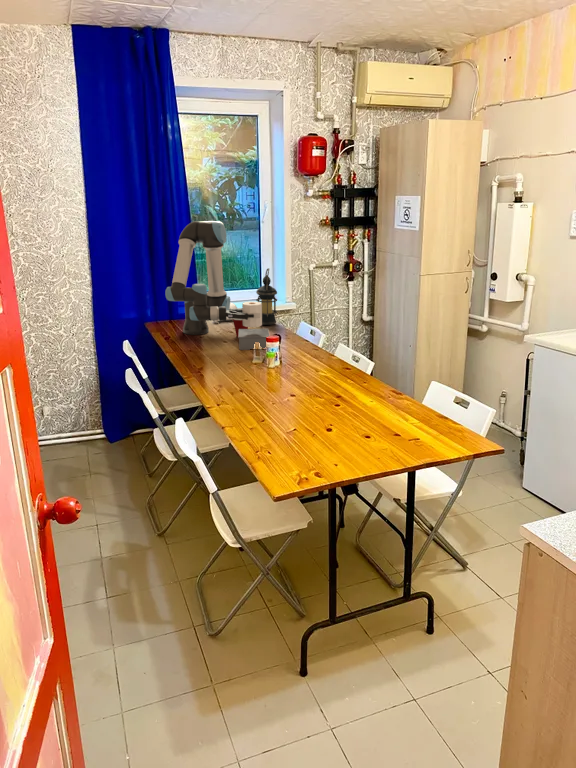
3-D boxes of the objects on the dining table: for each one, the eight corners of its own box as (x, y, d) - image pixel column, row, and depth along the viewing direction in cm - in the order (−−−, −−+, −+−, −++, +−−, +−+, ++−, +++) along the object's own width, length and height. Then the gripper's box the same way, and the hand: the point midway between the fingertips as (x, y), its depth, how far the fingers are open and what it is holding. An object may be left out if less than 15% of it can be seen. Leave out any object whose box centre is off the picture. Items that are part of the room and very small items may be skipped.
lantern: (255, 322, 382) (255, 266, 371) (276, 321, 383) (276, 266, 372) (257, 327, 369) (256, 270, 357) (278, 326, 370) (278, 269, 359)
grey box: (238, 341, 337) (238, 329, 334) (268, 340, 338) (268, 328, 335) (238, 349, 319) (238, 337, 317) (269, 349, 320) (269, 336, 318)
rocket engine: (211, 309, 373) (230, 299, 384) (203, 318, 381) (223, 308, 393) (222, 324, 372) (241, 313, 384) (214, 332, 381) (233, 322, 393)
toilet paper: (254, 328, 317) (254, 305, 313) (239, 325, 323) (238, 303, 319) (265, 324, 325) (265, 302, 321) (250, 322, 331) (249, 300, 327)
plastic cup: (228, 337, 344) (228, 317, 340) (237, 333, 353) (236, 313, 350) (245, 339, 340) (245, 318, 336) (253, 335, 350) (253, 315, 346)
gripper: (220, 315, 333) (259, 315, 334) (217, 325, 311) (260, 324, 313) (219, 302, 330) (259, 302, 332) (217, 311, 309) (260, 310, 310)
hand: (260, 313), depth 322 cm, fingers closed on toilet paper, 10 cm apart
